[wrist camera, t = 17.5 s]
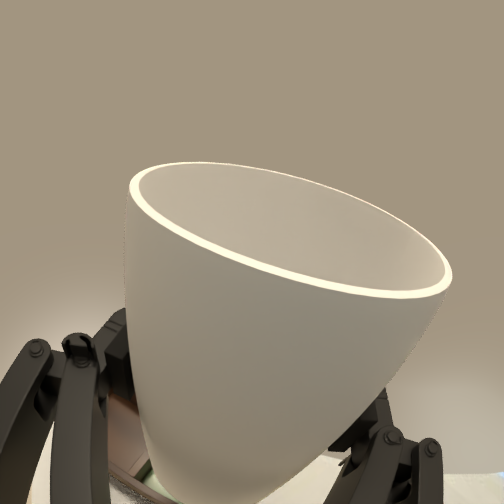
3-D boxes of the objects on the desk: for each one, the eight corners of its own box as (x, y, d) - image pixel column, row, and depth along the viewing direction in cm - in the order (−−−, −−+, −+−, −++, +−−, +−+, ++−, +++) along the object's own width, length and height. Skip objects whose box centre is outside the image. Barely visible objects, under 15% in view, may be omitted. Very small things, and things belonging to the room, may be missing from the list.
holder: (220, 534, 17) (226, 532, 15) (63, 435, 22) (52, 418, 20) (257, 463, 27) (266, 451, 25) (114, 386, 32) (109, 367, 30)
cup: (157, 399, 16) (168, 152, 10) (270, 409, 18) (364, 194, 11) (145, 505, 9) (37, 245, 2) (287, 509, 11) (508, 307, 4)
